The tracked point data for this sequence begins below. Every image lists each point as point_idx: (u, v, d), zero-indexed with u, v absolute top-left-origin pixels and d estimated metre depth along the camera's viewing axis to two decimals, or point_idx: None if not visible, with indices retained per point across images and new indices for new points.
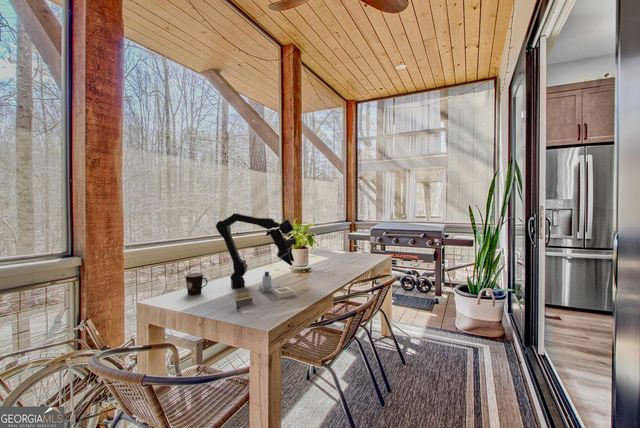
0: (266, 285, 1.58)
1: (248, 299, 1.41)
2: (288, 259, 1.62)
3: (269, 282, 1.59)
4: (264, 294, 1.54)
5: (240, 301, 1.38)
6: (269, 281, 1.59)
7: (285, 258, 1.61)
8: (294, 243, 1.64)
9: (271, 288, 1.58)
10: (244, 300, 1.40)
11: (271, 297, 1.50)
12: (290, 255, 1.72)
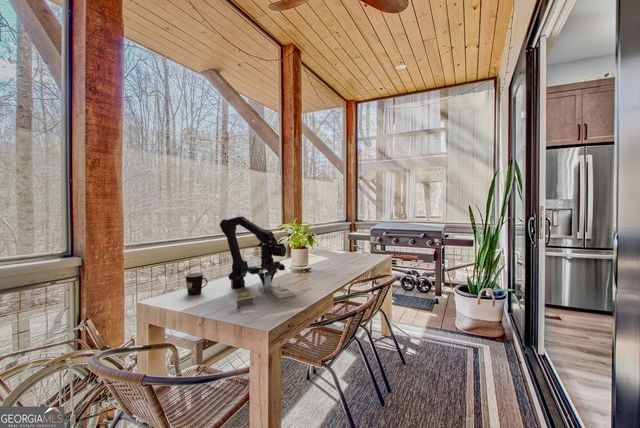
0: (266, 285, 1.58)
1: (249, 299, 1.41)
2: (261, 278, 1.58)
3: (269, 282, 1.59)
4: (264, 294, 1.54)
5: (241, 301, 1.39)
6: (269, 281, 1.59)
7: (260, 275, 1.59)
8: (267, 270, 1.53)
9: (271, 288, 1.58)
10: (245, 300, 1.40)
11: (271, 297, 1.50)
12: None
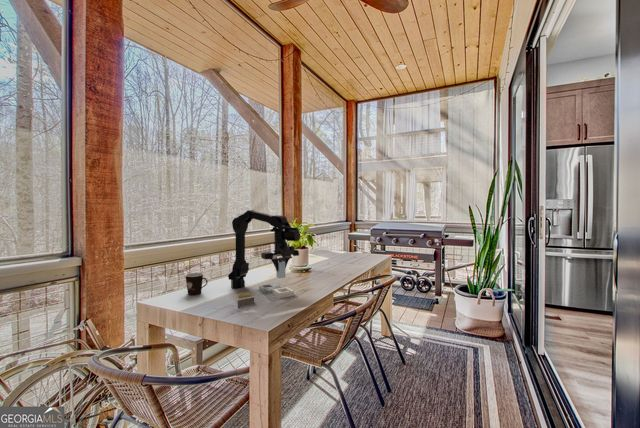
0: (280, 271, 1.53)
1: (250, 299, 1.41)
2: (275, 264, 1.52)
3: (283, 268, 1.53)
4: (264, 294, 1.54)
5: (242, 301, 1.39)
6: (283, 267, 1.53)
7: (274, 261, 1.53)
8: (282, 255, 1.47)
9: (271, 288, 1.58)
10: (246, 300, 1.40)
11: (271, 297, 1.50)
12: None
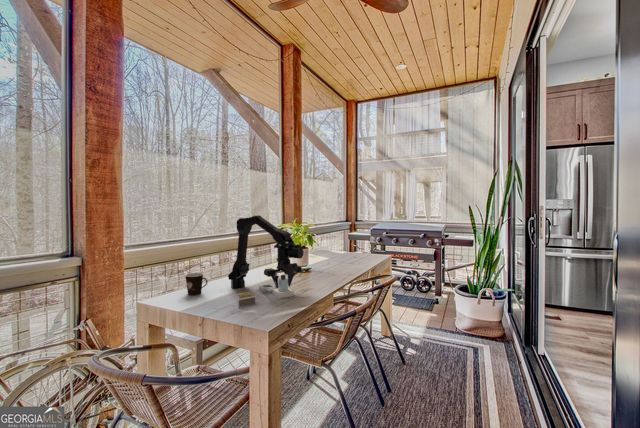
0: (283, 289, 1.52)
1: (251, 299, 1.41)
2: (275, 281, 1.51)
3: (285, 285, 1.53)
4: (264, 294, 1.54)
5: (243, 300, 1.39)
6: (286, 284, 1.53)
7: (274, 278, 1.52)
8: (285, 272, 1.46)
9: (271, 288, 1.58)
10: (247, 300, 1.40)
11: (271, 297, 1.50)
12: (289, 279, 1.55)
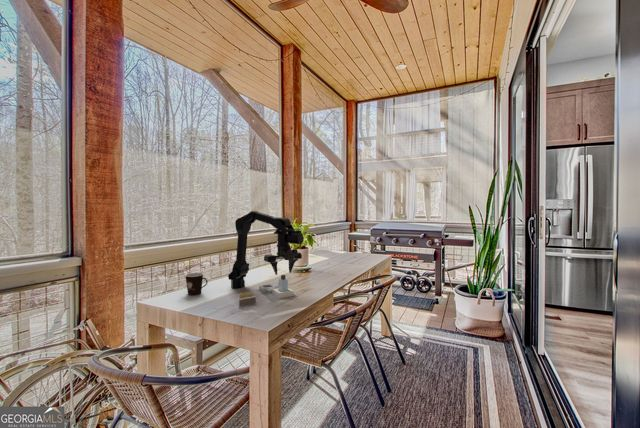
0: (283, 289, 1.52)
1: (251, 298, 1.41)
2: (274, 267, 1.50)
3: (285, 285, 1.53)
4: (264, 294, 1.54)
5: (243, 300, 1.39)
6: (286, 284, 1.53)
7: (273, 264, 1.51)
8: (285, 258, 1.46)
9: (271, 288, 1.58)
10: (247, 299, 1.40)
11: (271, 297, 1.50)
12: (290, 265, 1.55)
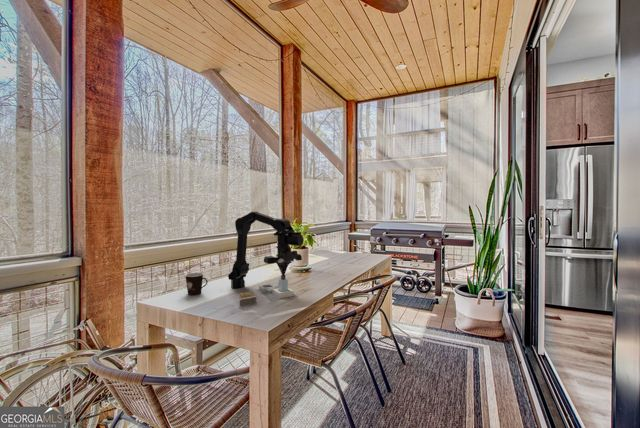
0: (283, 289, 1.52)
1: (252, 298, 1.42)
2: (281, 268, 1.52)
3: (285, 285, 1.53)
4: (264, 294, 1.54)
5: (244, 300, 1.39)
6: (286, 284, 1.53)
7: (279, 265, 1.53)
8: (285, 259, 1.46)
9: (271, 288, 1.58)
10: (248, 299, 1.40)
11: (271, 297, 1.50)
12: None
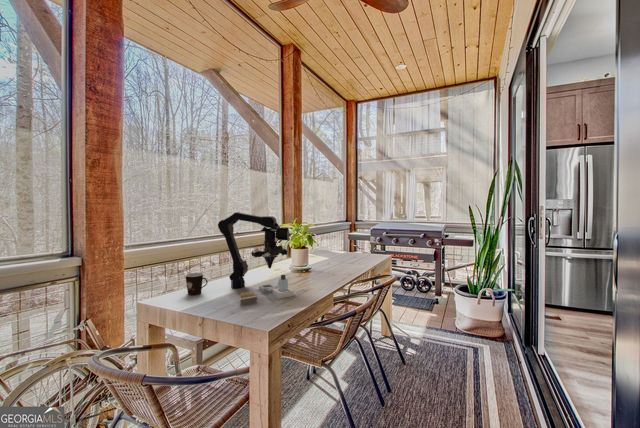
0: (283, 289, 1.52)
1: (252, 298, 1.42)
2: (267, 261, 1.63)
3: (285, 285, 1.53)
4: (264, 294, 1.54)
5: (244, 300, 1.40)
6: (286, 284, 1.53)
7: (266, 259, 1.64)
8: (270, 253, 1.57)
9: (271, 288, 1.58)
10: (248, 299, 1.41)
11: (271, 297, 1.50)
12: (270, 261, 1.64)
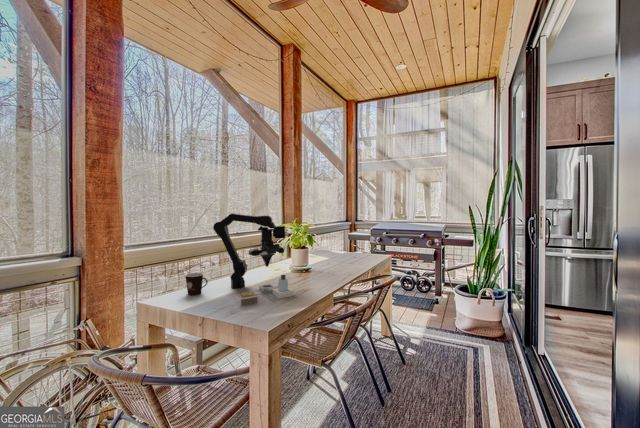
0: (283, 289, 1.52)
1: (253, 298, 1.42)
2: (264, 260, 1.66)
3: (285, 285, 1.53)
4: (264, 294, 1.54)
5: (245, 300, 1.40)
6: (286, 284, 1.53)
7: (263, 257, 1.67)
8: (267, 252, 1.60)
9: (271, 288, 1.58)
10: (249, 299, 1.41)
11: (271, 297, 1.50)
12: (267, 259, 1.67)
